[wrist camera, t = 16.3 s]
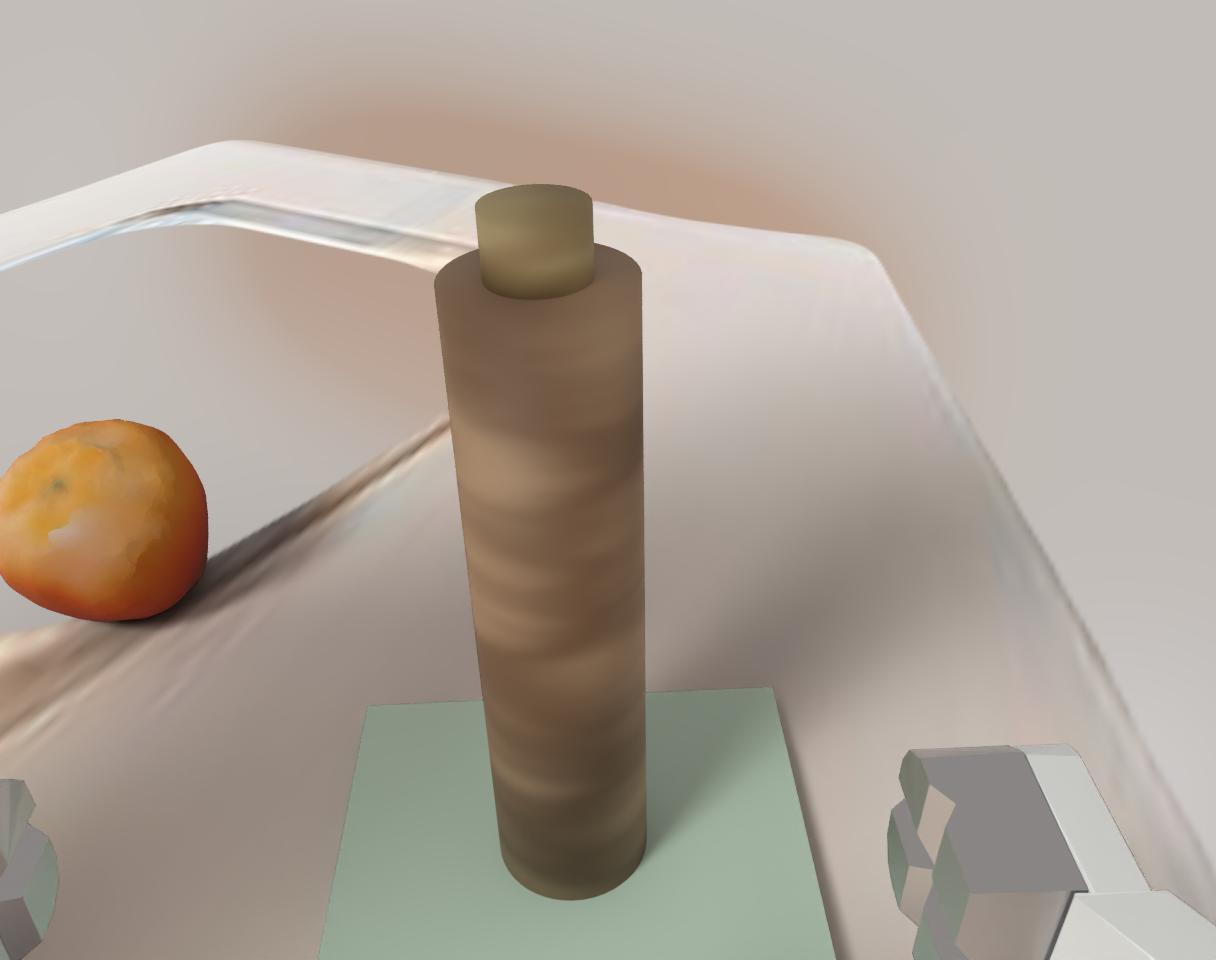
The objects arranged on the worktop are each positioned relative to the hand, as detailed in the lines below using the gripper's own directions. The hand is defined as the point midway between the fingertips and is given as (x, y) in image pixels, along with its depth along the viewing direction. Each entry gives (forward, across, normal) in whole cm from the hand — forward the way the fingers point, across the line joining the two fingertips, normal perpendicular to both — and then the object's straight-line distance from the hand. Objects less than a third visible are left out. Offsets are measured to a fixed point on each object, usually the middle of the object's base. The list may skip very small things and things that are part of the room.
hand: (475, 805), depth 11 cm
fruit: (+29, +17, +21) cm, 39 cm away
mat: (+15, -1, +20) cm, 25 cm away
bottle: (+15, -1, +19) cm, 24 cm away
